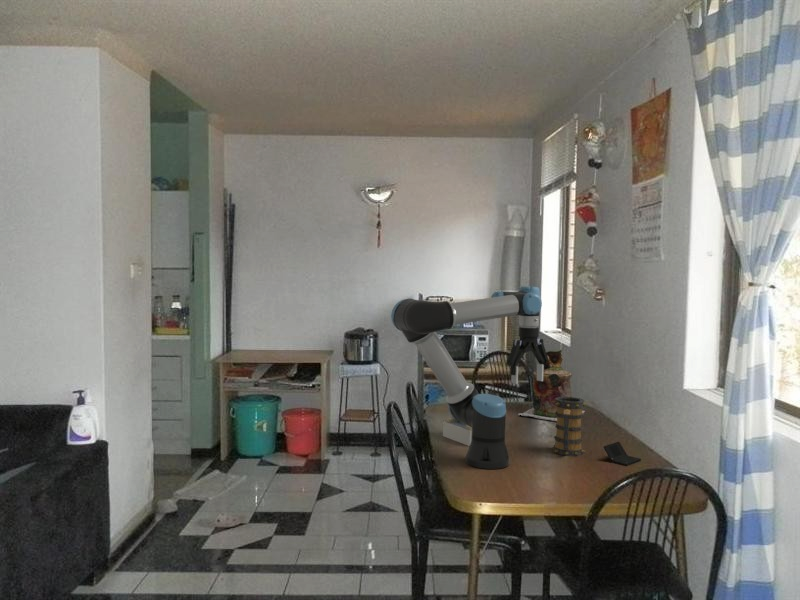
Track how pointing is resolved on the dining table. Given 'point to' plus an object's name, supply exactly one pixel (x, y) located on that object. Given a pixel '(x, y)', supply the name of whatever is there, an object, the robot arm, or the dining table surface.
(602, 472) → the dining table surface
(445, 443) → the dining table surface
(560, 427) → the mug
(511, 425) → the dining table surface
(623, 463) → the handheld gaming console
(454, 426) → the stand
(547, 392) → the cookie jar
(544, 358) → the robot arm
